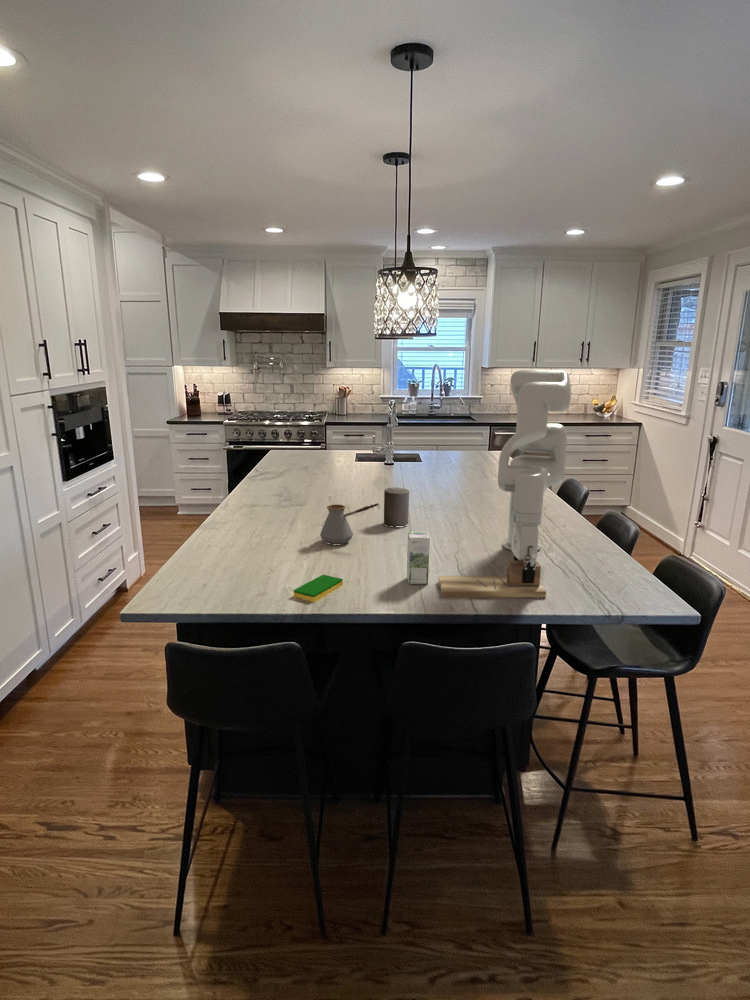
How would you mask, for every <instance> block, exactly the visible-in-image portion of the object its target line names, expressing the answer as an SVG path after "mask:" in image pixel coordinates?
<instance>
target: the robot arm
mask: <svg viewBox="0 0 750 1000" xmlns="http://www.w3.org/2000/svg"><path fill="white" fill-rule="evenodd" d="M571 387H572V386H571V380H570V375H569V373H568V372H567V371H565V370H562V369H523V370H521V369H520V370H516V371H514V372H513V373H512V374H511V375H510V388H511V393H512V396H513V399H514V401H515V404H516V410H517V411H516V413H517V414H516V429H515V433H514V434H513V435H512V436H511V437H510V438H509V439H508V440H507V441H506V442H505V443H504V445H503V446H502V449H501V451H500V454H499V459H498V470H497V485H498V488H499V489H500V490H501V491H503V492H505V493H510V497H509V498H510V500H509V512H508V513H509V514H508V515H509V517H508V528H507V529H508V531H507V533H508V534H507V539H504V541H503V542H502V547H503V548H504V549H507V550H509V551H511V552H512V554H513V555H514V556H513V561H523V563H524V569H523V572H522V583H534V577H535V564H536V563H535V561H537V557H538V551H541V548H542V544H541V542H539V526H540V525H541V524H542V519H543V505H544V494H545V493H546V492H547V490H548V489H549V488H550V486H555V487H556V486H559V485H561V484H562V483H563V482H564V478H565V469H566V457H567V443H568V433H567V430H566V427H565V426H564V425H563V424H560V423H555V422H554V423H551V422H549V423H548V418H549V413H548V412H566V411H567V410H568V409H569V407H570V405H571V400H572V388H571ZM517 450H519V451H521V452H525V453H527V452H528V453H545V454H546V453H548V454H549V455H551V456H544V455H527V454H526V455H517V456H515V457H513V458H512V459H511V460H510V458H511V455H512V454H513V453H514V452H515V451H517ZM509 461H510V462H509ZM526 561H530V562H528V563H527V562H526Z"/></svg>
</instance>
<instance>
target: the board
mask: <svg viewBox="0 0 750 1000" xmlns="http://www.w3.org/2000/svg"><path fill="white" fill-rule="evenodd" d="M437 580H438V581H437V582H438V585H439V589H440V593H441V596H442V598H446V599H449V598H453V599H454V598H458V599H459V598H461V599H462V598H463V599H464V598H465V599H467V598H469V599H470V598H471V599H472V598H474V599H475V598H477V599H479V598H480V599H483V598H486V599H487V598H489V599H490V598H491V599H492V598H493V599H494V598H499V597H500V598H499V599H502V598H506V597H533V598H535V597H537V598H539V597H541V598H543V597H545V598H544V599H546V597H547V590H546V589H545V588H544V586H543V585H542V584H541V583H540V584H539V587H510V585H509V584H508V582H507V575H505V576H504V575H503V576H501V575H499V576H497V575H494V576H493V575H492V576H490V575H489V576H488V575H487V576H486V575H485V576H484V575H483V576H482V575H481V576H480V575H477V576H475V575H474V576H473V575H471V576H470V575H467V576H466V575H463V576H462V575H461V576H459V575H454V576H450V575H449V576H447V575H445V576H444V575H443V576H441V575H439V576H438V579H437ZM533 598H532V599H533ZM541 598H540V599H541ZM506 599H507V598H506Z"/></svg>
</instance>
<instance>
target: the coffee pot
mask: <svg viewBox="0 0 750 1000" xmlns="http://www.w3.org/2000/svg"><path fill="white" fill-rule="evenodd" d="M375 507H377V509H378V510H380V508H381V505H380V504H379V503H374V504H370V505H368V506H364V507H361V508H359V509H356V510H354V511H351V512H348V513H344V512H345V509H346V506H345V505H344V504H343V505H342V504H330V505H327V506H326V509H327V510H328V515H327V517H326V518H325V520H324V524H323V526H322V528H321V531H320V534H319V536H320V539H321V540H323V541H324V542H325V543H326V542H327V543H330V544H344V543H346V542H347V543H349V541H350V540H351V539H352V538H353V536H354V533H353V530H352V528H351V525H350V524H349V521H348V519H347V517H349V516H352V515H354V514H358V513H362V512H364V511H368V510H369V509H373V508H375ZM327 543H326V544H327ZM347 543H346V544H347ZM344 545H345V544H344Z"/></svg>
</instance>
